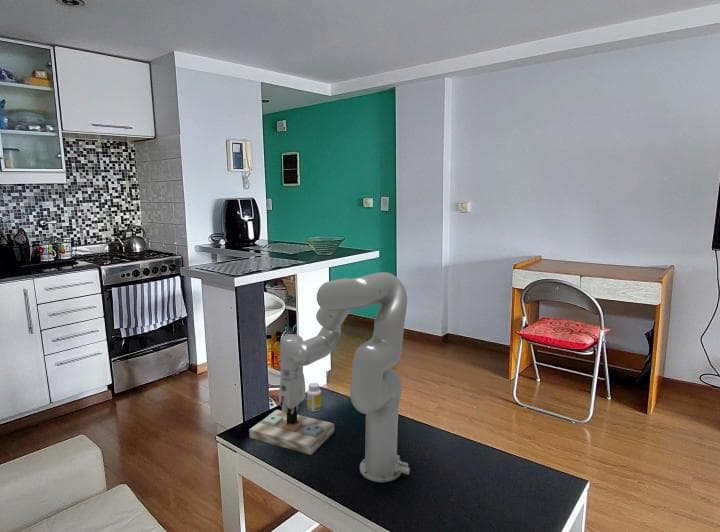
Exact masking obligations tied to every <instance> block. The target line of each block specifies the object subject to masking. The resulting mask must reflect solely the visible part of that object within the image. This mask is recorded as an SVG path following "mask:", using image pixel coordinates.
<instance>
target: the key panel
mask: <svg viewBox="0 0 720 532" xmlns="http://www.w3.org/2000/svg"><path fill="white" fill-rule="evenodd" d="M270 414H273V415H277V416H282V417H283V421H282V422H281V423H279V424H278V425H277V426H276V427H274V426H270V425H266V424H263V420H264V419H265V418H266V417H268V416H269V415H267V416H266V417H265V418H263V419H262V420H260V421H259V422H258V423H256V424H255V425H254V426H252V427H251V428H249V429H248V432H249V438H250V439H253V440H257V441H261V442H264V443H267V444H271V445H274V446H278V447H282V448H284V449H285V448H286V449H289V450H292V451H297V452H300V453H302V454H306V455H310V456H312V455H313V453H315V452H316V451H317V450H318V448H320V447H321V445H322V444H323V443H325V442H326V441H327V439H329V437H330V436H331V435H333V433H334V432H335V423H332V422H329V421H326V420H325V421H324V420H321V419H317V418H312V417H309V416H304V415H300V414H297V420H298V421H302V422H303V426H302V427H300V428H299V429H298V430H297V431H296V432H293V431H289V430H285V429H282V425H283V424H284V423H285V422H287V413H284V412H282V410H280V409H276V410H274V411H272V412H271V413H270ZM309 424H314V425H318V426H322V427H323V431H322V432H321V433H320V434H319V435H318V436H317V437H312V436H308V435H304V434H302V430H303V429H305V428H306V427H307V426H308V425H309Z"/></svg>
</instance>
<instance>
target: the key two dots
mask: <svg viewBox="0 0 720 532" xmlns="http://www.w3.org/2000/svg"><path fill="white" fill-rule="evenodd" d="M322 431H323V427H322V426H318V425H314V424H309V425H308V426H307V427H306V428H305V429H303V430H302V434H304V435H308V436H312V437H317V436H318V435H319V434H320V433H321V432H322Z"/></svg>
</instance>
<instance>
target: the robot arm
mask: <svg viewBox="0 0 720 532" xmlns="http://www.w3.org/2000/svg"><path fill="white" fill-rule="evenodd" d="M318 288H319V289H318V290H317V292H316V302H317V305H318V306H319V309H318V310H317V312H316V316H315V317H316V321H317V322H318V324H319V326H321V327H322V328H321V329H320V331H319V332H318V333H317V335H316V336H313V337H311V338H308V339H305V340H303V337H302V336H300V335H297V334H286V335H284V336H282V337H281V339H280V344H279V345H280V346H279V347H280V348H279V349H280V353H279V354H280V355H279V356H280V358H279V359H280V371H279V372H280V382H279V388H278V389H279V390H278V391H279V392H278V393H279V394H278V399H279V400H278V404H279V406H280V407H281V411H282V412H284V413H287V423H290V424H295V423H296V422H297V415H298V410H299V405H300V404H301V403H302V402H303V401H304V400H305V399H306V396H307V393H306V381H305V374H304V367H305V366H309V365H311V364H313V363H316V362H318V361H319V360H322V359H324V358H326V357H327V356H329V355H330V354H331V353H332V351H333V350H334V348H335V347H336V345H337V344H338V342H339V340H340V338H341V334H342V333H341V332H342V327H341V326H342V324H343V323H344V321H346V319H347V316H348V315H349V313H350V312H351V311H353V310H360V309H366V308H368V307H369V308H370V307H371V306H375V305H377V304H379V307H378V310H377V312H376V315H375V318H374V323H373V325H374V327H373V333H372V337H371V338H370V339H369V340H368V341H365V342H363V343H362V344H361V345H359V346H358V347H357V348H356V350H355V351H354V354H353V358H352V365H351V376H350V377H351V378H350V387H349V389H350V390H349V394H350V395H349V396H350V397H349V398H350V401H351V404H352V406H353V407H354V408H355V410H356V411H357V412H359V413H361V414H363V415H365V436H364V437H365V441H364V442H365V443H364V444H365V445H364V458H363V459H362V461H361V462H360V463H359V472H360V474H361V476H363V477H364V478H365V479H367V480H369V481H372V482H375V483H387V482H392V481H394V480H396V479H398V478H399V477H400V476H401V474H404V475H410V472H411V469H410V467H409V463H408V462H405V461H402V460H401V457H400V456H401V455H399V454H398V427H399V426H398V424H399V423H398V422H399V407H400V402H401V401H400V400H401V397H402V390H403V388H402V387H403V386H402V385H403V384H402V379H401V376H400V375H399V373H398V372H397V371H396V370H394V369H393V368H394V366H396V365H397V364H398V363H399V361H400V359H401V357H402V351H403V350H402V349H403V341H404V333H405V332H404V331H405V320H406V315H407V309H408V295H407V291H406V288H405V286H404V284H403V282H402V281H401V280H400V279H399V278H398V277H397V276H396V275H394V274H393V273H390V272H386V271H385V272H384V271H382V272H381V271H379V272H374V273H370V274H367V275H366V274H365V275H363V276H359V277H358V276H357V277H354V278H349V277H345V278H343V277H342V278H337V279H333V280H329V281H327V282H324V283H323V284H321V286H320V287H318Z"/></svg>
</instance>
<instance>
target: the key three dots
mask: <svg viewBox="0 0 720 532" xmlns="http://www.w3.org/2000/svg"><path fill="white" fill-rule="evenodd" d="M302 426H303V422H302V421H298V420H297V422H296V423H295V424H290V423H287V422H285V423H284V424H283V425H282V429H285V430H289V431H293V432H296V431H297V430H298V429H299V428H300V427H302Z"/></svg>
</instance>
